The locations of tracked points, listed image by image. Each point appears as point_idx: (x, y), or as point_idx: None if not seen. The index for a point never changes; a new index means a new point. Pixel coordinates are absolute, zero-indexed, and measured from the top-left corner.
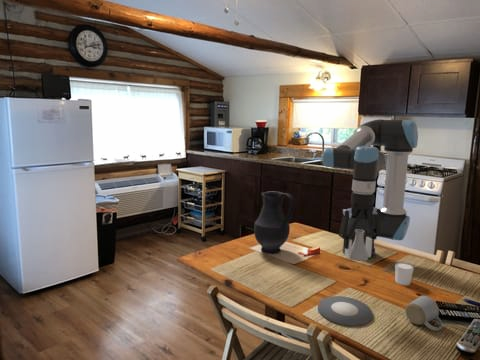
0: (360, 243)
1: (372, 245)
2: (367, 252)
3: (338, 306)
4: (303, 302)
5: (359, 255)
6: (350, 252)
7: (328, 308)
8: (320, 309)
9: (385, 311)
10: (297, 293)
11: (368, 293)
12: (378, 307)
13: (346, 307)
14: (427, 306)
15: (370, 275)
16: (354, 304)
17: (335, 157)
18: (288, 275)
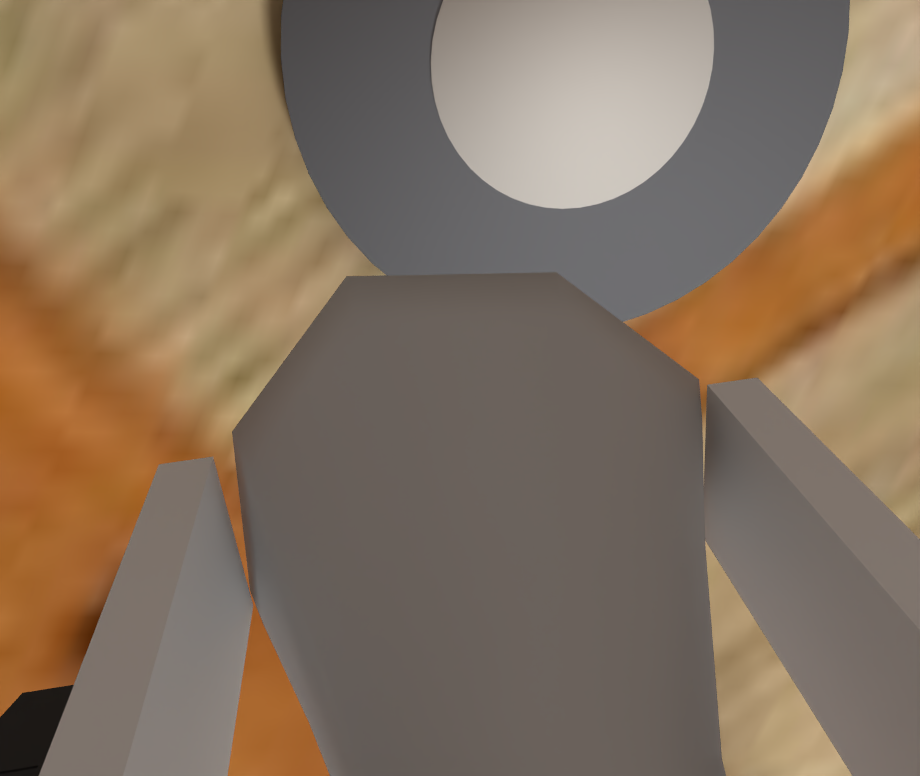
0: (574, 683)
1: (29, 731)
2: (216, 580)
3: (619, 116)
4: (871, 270)
5: (553, 367)
6: (789, 460)
7: (738, 88)
8: (828, 75)
9: (97, 17)
10: (842, 429)
11: (155, 408)
12: (150, 114)
13: (544, 86)
14: None
15: None
16: (426, 147)
17: None
18: (766, 711)
